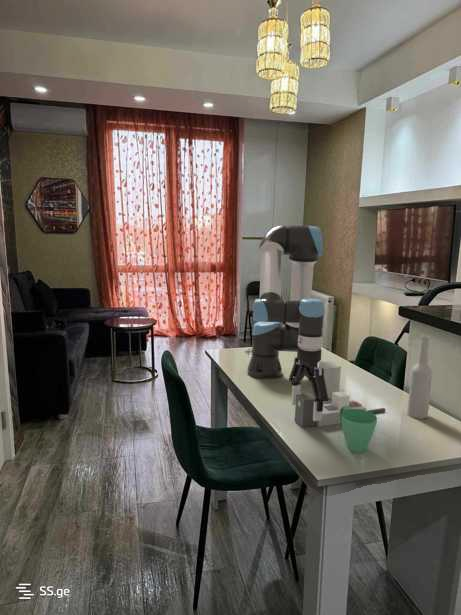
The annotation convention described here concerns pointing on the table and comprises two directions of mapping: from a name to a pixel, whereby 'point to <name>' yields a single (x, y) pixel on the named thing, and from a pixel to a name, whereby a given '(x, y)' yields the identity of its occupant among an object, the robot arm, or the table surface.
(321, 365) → the pale pink cylinder
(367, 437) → the mug
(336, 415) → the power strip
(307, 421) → the grey rectangular block
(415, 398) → the bottle
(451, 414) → the table surface
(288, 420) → the table surface
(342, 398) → the block
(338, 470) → the table surface
